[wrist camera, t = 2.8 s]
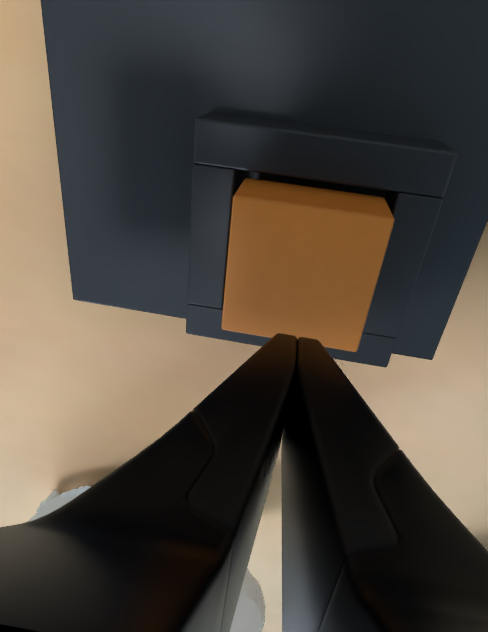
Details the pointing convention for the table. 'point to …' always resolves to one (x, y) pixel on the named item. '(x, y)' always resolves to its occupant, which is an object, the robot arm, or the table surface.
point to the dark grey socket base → (268, 144)
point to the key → (303, 261)
